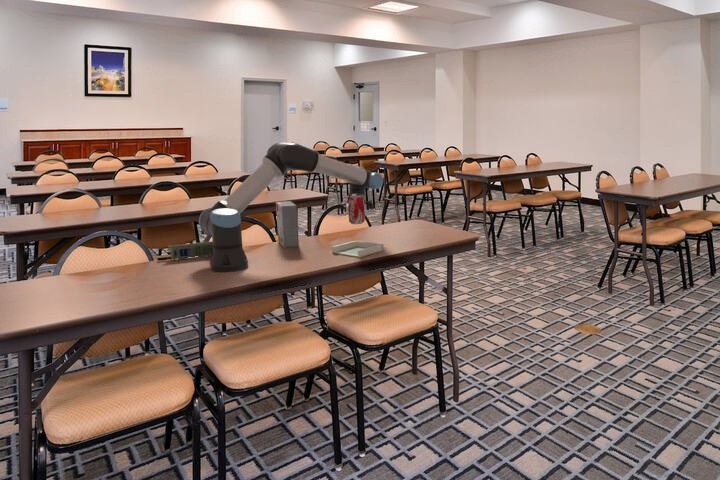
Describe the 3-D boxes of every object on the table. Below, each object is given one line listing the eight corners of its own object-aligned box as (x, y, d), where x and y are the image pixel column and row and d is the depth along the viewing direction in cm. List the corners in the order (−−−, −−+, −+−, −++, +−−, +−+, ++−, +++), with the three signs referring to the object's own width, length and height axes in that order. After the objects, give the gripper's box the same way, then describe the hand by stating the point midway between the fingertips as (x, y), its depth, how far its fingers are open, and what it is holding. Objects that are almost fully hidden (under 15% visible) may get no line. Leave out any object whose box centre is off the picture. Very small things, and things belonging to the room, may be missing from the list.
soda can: (364, 224, 245) (364, 196, 242) (348, 224, 245) (347, 197, 243) (365, 221, 252) (364, 194, 249) (349, 222, 252) (348, 195, 250)
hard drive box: (277, 242, 279) (275, 201, 275) (293, 240, 281) (291, 200, 277) (283, 248, 264) (280, 205, 260) (299, 246, 266) (297, 204, 263)
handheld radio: (217, 256, 253) (157, 263, 243) (215, 255, 256) (157, 261, 246) (215, 241, 252) (156, 247, 242) (214, 240, 255) (155, 246, 245)
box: (359, 257, 240) (359, 250, 239) (332, 253, 250) (332, 246, 250) (383, 250, 252) (383, 244, 251) (356, 246, 262) (356, 240, 261)
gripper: (378, 209, 265) (379, 217, 243) (336, 210, 266) (333, 218, 243) (378, 193, 264) (379, 199, 241) (335, 194, 264) (332, 201, 242)
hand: (356, 209), depth 242 cm, fingers closed on soda can, 7 cm apart
